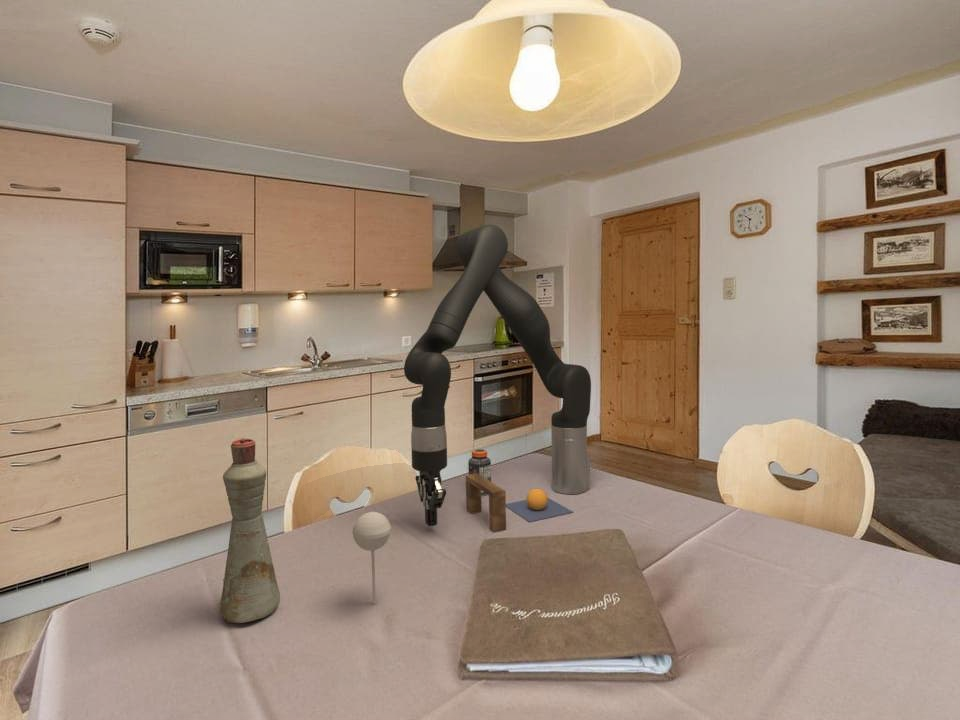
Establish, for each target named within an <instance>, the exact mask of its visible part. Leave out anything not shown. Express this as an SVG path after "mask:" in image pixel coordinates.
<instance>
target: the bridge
mask: <svg viewBox="0 0 960 720" xmlns="http://www.w3.org/2000/svg"><path fill="white" fill-rule="evenodd" d="M481 491H483V492H484V493H486V494H487V495H486V496H488V509H489V510H488V513H489V514H488V517H489V530H490V531H491V532H492V533H499V532H502V531H506V530H507V510H506V509H507V507H506V504H507V503H506V500H507V499H506V489H504V488H502V487H501V486H499V485H497V484H496V483H494V482H492V480H491V481H489V480H487V479H486V478H484V477H483V476H481V475H479V474H478V473H476V474H469V473H468V474H465V497H466V498H465V499H466V500H465V501H466V503H465V504H466V506H465V507H466V512H467V513H468V514H476V513H480V512H482V496H481Z"/></svg>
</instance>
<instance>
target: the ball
mask: <svg viewBox="0 0 960 720" xmlns="http://www.w3.org/2000/svg"><path fill="white" fill-rule="evenodd" d="M547 497H548V495H547V493H546V492H545V491H544V490H543V489H541V488H532V489H531V490H529V492H528V493H527V495H526V497H525V498H526V499H525V500H527V504H528V506H529V507H530V508H531V509H533V510H541V509H543V508H544V507H545V506H546V505H547V501H548V498H549V497H548V498H547Z"/></svg>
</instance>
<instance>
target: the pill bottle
mask: <svg viewBox="0 0 960 720" xmlns="http://www.w3.org/2000/svg"><path fill="white" fill-rule="evenodd" d="M467 463H468V475H469V474H476V473H478V474H479V475H481V476H483V477H484V478H486V479H487V480H489V481H491V482H492V461H491V459H490V458H489V457H488V450H487V449H485V448H475V449H473V450H471V457H470V458H469V460H468V462H467ZM481 495H484V496H488V495H487V494H486V493H484V492H483V491H481Z"/></svg>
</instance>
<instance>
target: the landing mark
mask: <svg viewBox="0 0 960 720" xmlns="http://www.w3.org/2000/svg"><path fill="white" fill-rule="evenodd" d="M547 498H548V501H547V505H546V506H545V507H544V508H543V509H541V510H533V509H531V508H530V507H529V506H528V504H527V500H526V499H523V500H519V501H514V502H510V503H509V502H508V503H506V509H508V510H510V511H512V513H515V514H516V515H517V516H519V517H521V518H522V519H524V520H525V521H527V522H528V523H533V522H538V521H541V520H546V519H550V518H554V517H559V516H564V515H568V514H573V513H574V511H572V510H571V509H569V508H568V507H566V506H564V505H562V504H560V503H559V502H556V501H554V500H553V499H551V498H549V497H548V496H547Z"/></svg>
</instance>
